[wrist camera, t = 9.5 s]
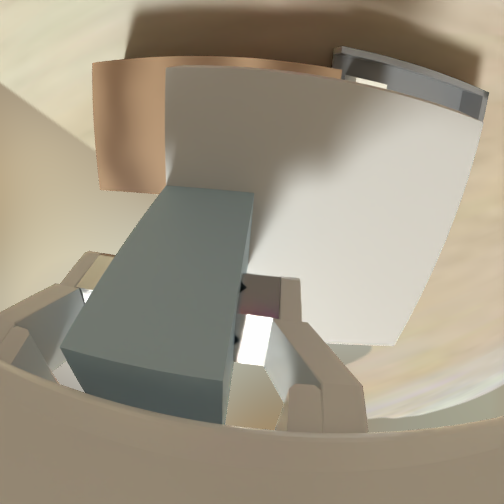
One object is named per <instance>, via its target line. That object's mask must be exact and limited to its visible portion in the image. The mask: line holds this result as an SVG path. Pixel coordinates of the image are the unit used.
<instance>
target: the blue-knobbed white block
mask: <svg viewBox="0 0 504 504" xmlns="http://www.w3.org/2000/svg"><path fill="white" fill-rule="evenodd" d="M483 123H484V122H481V121H479V120H477V119H475V118H473V117H471V116H469V115H466V114H464V113H462V112H460V111H457V110H455V109H452V108H449V107H446V106H443V105H440V104H437V103H434V102H431V101H427V100H424V99H421V98H417V97H414V96H411V95H407V94H403V93H400V92H396V91H392V90H388V89H384V88H380V87H376V86H371V85H367V84H362V83H358V82H353V81H348V80H343V79H337V78H332V77H326V76H320V75H313V74H307V73H299V72H292V71H283V70H274V69H264V68H252V67H237V66H213V65H182V66H174V67H168V68H166V76H165V165H166V186H165V188H164V189H163V190H162V192H161V193H160V194H159V195H158V197H157V198H156V199H155V201H154V202H153V203H152V205H151V206H150V208H149V209H148V210H147V212H146V213H145V214H144V216H143V217H142V218H141V220H140V221H139V223H138V224H137V225H136V227H135V228H134V230H133V231H132V232H131V234H130V235H129V237H128V238H127V240H126V241H125V242H124V244H123V245H122V247H121V248H120V250H119V251H118V253H117V254H116V256H115V257H114V258H113V260H112V261H111V263H110V265H109V266H108V268H107V269H106V271H105V272H104V274H103V275H102V277H101V278H100V280H99V281H98V283H97V285H96V286H95V288H94V289H93V291H92V292H91V294H90V296H89V297H88V299H87V301H86V302H85V304H84V305H83V307H82V309H81V310H80V312H79V314H78V315H77V317H76V319H75V321H74V322H73V324H72V326H71V327H70V329H69V331H68V333H67V334H66V336H65V338H64V340H63V341H62V343H61V345H60V349H61V351H62V353H63V354H64V356H65V358H66V360H67V362H68V364H69V365H70V367H71V369H72V371H73V373H74V375H75V376H76V378H77V380H78V382H79V383H80V385H81V387H82V388H83V390H84V391H85V393H87V394H90V395H94V396H97V397H100V398H103V399H107V400H110V401H114V402H117V403H121V404H125V405H129V406H132V407H136V408H140V409H145V410H149V411H153V412H157V413H162V414H167V415H171V416H176V417H181V418H187V419H192V420H198V421H204V422H210V423H216V424H223V425H225V420H226V414H227V407H228V400H229V393H230V385H231V378H232V371H233V365H234V362H233V351H234V341H235V321H236V310H237V304H238V298H239V293H240V290H241V280H242V275H243V273H250V274H259V275H268V276H277V277H281V276H283V277H294V278H299V279H300V280H301V302H302V322H308V323H309V324H310V325H311V327H312V328H313V329H314V330H315V331H316V332H317V334H318V335H319V336H320V337H321V338H322V339H323V341H324V342H325V343H333V344H352V345H376V346H394V345H395V343H396V342H397V340H398V338H399V336H400V335H401V333H402V331H403V329H404V327H405V325H406V324H407V322H408V320H409V318H410V316H411V314H412V312H413V310H414V308H415V306H416V304H417V302H418V300H419V298H420V296H421V294H422V292H423V290H424V288H425V286H426V284H427V282H428V280H429V278H430V276H431V273H432V271H433V269H434V267H435V264H436V262H437V260H438V258H439V255H440V253H441V251H442V248H443V246H444V243H445V241H446V239H447V236H448V234H449V231H450V229H451V226H452V223H453V221H454V218H455V215H456V213H457V210H458V207H459V204H460V202H461V199H462V196H463V193H464V190H465V187H466V184H467V181H468V178H469V174H470V171H471V168H472V164H473V161H474V158H475V154H476V150H477V147H478V143H479V139H480V135H481V131H482V127H483Z"/></svg>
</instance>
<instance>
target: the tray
mask: <svg viewBox="0 0 504 504" xmlns="http://www.w3.org/2000/svg"><path fill="white" fill-rule="evenodd" d="M332 68H335V69H340V70H342V74H341V79H343V80H345V75H349V76H354V77H359V78H363V79H367V80H372V81H375V82H379V83H383V84H386V85H387V89H388V90H392V91H396V92H400V93H403V94H407V95H411V96H414V97H417V98H421V99H424V100H427V101H431V102H434V103H437V104H440V105H443V106H446V107H449V108H452V109H455V110H457V111H460V112H462V113H464V114H466V115H469V116H471V117H473V118H475V119H477V120H479V121H481V122H483V120H484V115H485V110H486V105H487V100H488V95H489V92H486V91H484V90H482V89H480V88H477V87H475V86H473V85H470V84H468V83H465V82H463V81H460V80H458V79H455V78H453V77H450V76H447V75H445V74H442V73H439V72H436V71H433V70H431V69H428V68H425V67H421V66H418V65H415V64H412V63H409V62H405V61H402V60H398V59H395V58H391V57H388V56H384V55H380V54H376V53H372V52H368V51H363V50H359V49H354V48H349V47H344V46H340V47H337V48H334V52H333V60H332ZM444 244H445V243H444Z"/></svg>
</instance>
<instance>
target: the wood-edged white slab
mask: <svg viewBox="0 0 504 504" xmlns="http://www.w3.org/2000/svg"><path fill="white" fill-rule="evenodd" d="M182 65H213V66H237V67H252V68H264V69H274V70H283V71H292V72H299V73H307V74H313V75H320V76H326V77H332V78H337V79H341V74H342V70H340V69H335V68H329V67H323V66H317V65H310V64H304V63H296V62H288V61H279V60H270V59H258V58H245V57H225V56H165V57H146V58H133V59H122V60H112V61H104V62H96V63H92V85H93V115H94V132H95V146H96V157H97V167H98V176H99V184H100V190H110V191H124V192H125V191H126V192H137V193H150V194H160V193H161V192H162V190H163V189H164V188H165V186H166V165H165V76H166V68H168V67H174V66H182Z"/></svg>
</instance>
